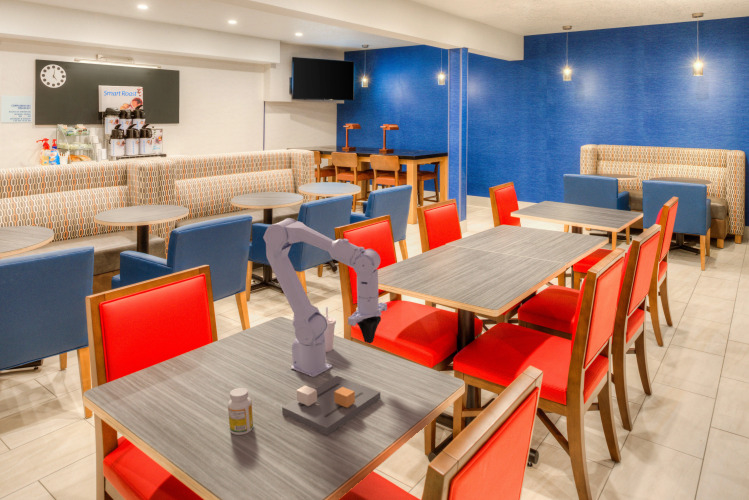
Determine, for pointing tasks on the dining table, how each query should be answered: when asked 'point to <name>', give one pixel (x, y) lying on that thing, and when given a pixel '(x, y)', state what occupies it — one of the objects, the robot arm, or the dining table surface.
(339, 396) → the block
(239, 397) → the supplement bottle
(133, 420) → the dining table surface
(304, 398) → the off white fader
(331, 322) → the smoothie
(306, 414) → the fader console
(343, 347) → the dining table surface
